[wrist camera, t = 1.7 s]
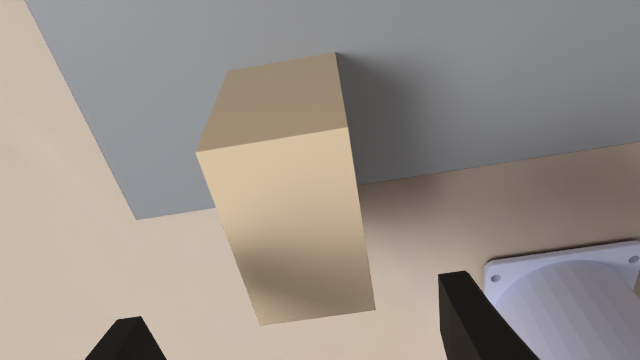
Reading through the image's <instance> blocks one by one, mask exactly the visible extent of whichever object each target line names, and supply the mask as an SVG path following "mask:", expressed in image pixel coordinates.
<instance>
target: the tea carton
mask: <svg viewBox="0 0 640 360" xmlns="http://www.w3.org/2000/svg"><path fill="white" fill-rule="evenodd" d="M195 153H196V156H197V158H198V161H199V164H200V166H201V169H202V172H203V174H204V177H205V180H206V182H207V185H208V188H209V190H210V193H211V196H212V198H213V201H214V204H215V206H216V209H217V212H218V214H219V217H220V220H221V222H222V225H223V228H224V230H225V233H226V236H227V238H228V241H229V244H230V246H231V249H232V252H233V254H234V257H235V260H236V262H237V265H238V268H239V270H240V273H241V276H242V278H243V281H244V284H245V286H246V289H247V292H248V294H249V297H250V300H251V302H252V305H253V308H254V310H255V313H256V316H257V318H258V321H259V324H260V326H262V325H269V324H276V323H284V322H291V321H298V320H306V319H313V318H321V317H328V316H335V315H343V314H350V313H357V312H365V311H372V310H376V308H375V302H374V295H373V289H372V282H371V275H370V269H369V262H368V256H367V249H366V243H365V236H364V230H363V223H362V217H361V210H360V203H359V197H358V190H357V184H356V177H355V171H354V164H353V158H352V151H351V144H350V138H349V131H348V125H347V119H346V113H345V108H344V102H343V96H342V90H341V84H340V78H339V73H338V67H337V61H336V55H335V52H331V53H325V54H320V55H314V56H309V57H303V58H297V59H292V60H286V61H280V62H275V63H269V64H263V65H258V66H252V67H246V68H241V69H235V70H230V71H228V72H227V74H226V77H225V79H224V82H223V84H222V87H221V89H220V92H219V94H218V97H217V99H216V102H215V104H214V107H213V109H212V112H211V114H210V117H209V119H208V122H207V124H206V127H205V129H204V132H203V134H202V137H201V139H200V142H199V144H198V147H197V149H196V152H195Z"/></svg>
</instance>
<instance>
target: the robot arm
mask: <svg viewBox="0 0 640 360" xmlns="http://www.w3.org/2000/svg"><path fill="white" fill-rule="evenodd" d="M639 271H640V241H638V240H634V241H626V242H619V243H612V244H605V245H598V246H591V247H584V248H577V249H570V250H563V251H555V252H548V253H541V254H534V255H527V256H520V257H513V258H506V259H499V260H493V261H490V262H488V263H487V264H486V265H485V268H484V287H483V292H482V291H481V289H480V288H479V287H478V285H477V284H476V282H475V281H474V280H473V278H472V277H471V275H470V274H469V273H468V272H466V271H459V272H452V273H444V274H438V284H439V312H440V332H441V336H442V340H443V344H444V348H445V352H446V356H447V360H640V299H639V298H638V297H637V295H636V294H635V293H634V292H633V290H634V287H635V284H636V280H637V277H638V274H639ZM494 275H496V276H494ZM85 360H167V359H166V358H165V356H164V354H163V353H162V351H161V349H160V348H159V346H158V344H157V342H156V341H155V339H154V337H153V336H152V334H151V332H150V331H149V329H148V327H147V325H146V324H145V322H144V320H143V319H142V317H141V316H139V317H132V318H125V319H118V320H116V322H115V323H114V324H113V325H112V326H111V328H110V329H109V330H108V331H107V332H106V334H105V335H104V336H103V337H102V339H101V340H100V341H99V342H98V344H97V345H96V346H95V347H94V349H93V350H92V351H91V352H90V354H89V355H88V356H87V357H86V359H85Z"/></svg>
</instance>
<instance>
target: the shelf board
mask: <svg viewBox="0 0 640 360" xmlns="http://www.w3.org/2000/svg"><path fill="white" fill-rule="evenodd" d="M25 2H26V4H27V6H28V8H29V10H30V12H31V14H32V16H33V18H34V20H35V22H36V24H37V26H38V28H39V30H40V32H41V34H42V36H43V38H44V40H45V42H46V44H47V46H48V47H49V49H50V51H51V53H52V55H53V57H54V59H55V61H56V63H57V65H58V67H59V69H60V71H61V73H62V75H63V77H64V79H65V81H66V83H67V85H68V87H69V89H70V91H71V93H72V95H73V97H74V99H75V101H76V103H77V105H78V107H79V109H80V111H81V112H82V114H83V116H84V118H85V120H86V122H87V124H88V126H89V128H90V130H91V132H92V134H93V136H94V138H95V140H96V142H97V144H98V146H99V148H100V150H101V152H102V154H103V156H104V158H105V160H106V162H107V164H108V166H109V168H110V170H111V172H112V174H113V176H114V178H115V179H116V181H117V183H118V185H119V187H120V189H121V191H122V193H123V195H124V197H125V199H126V201H127V203H128V205H129V207H130V209H131V211H132V213H133V215H134V217H135V219H136V220H140V219H146V218H152V217H159V216H165V215H172V214H178V213H185V212H191V211H197V210H204V209H210V208H216V206H215V204H214V201H213V198H212V196H211V193H210V190H209V188H208V185H207V182H206V180H205V177H204V174H203V172H202V169H201V166H200V164H199V161H198V158H197V156H196V153H195V152H196V149H197V147H198V144H199V142H200V139H201V137H202V134H203V132H204V129H205V127H206V124H207V122H208V119H209V117H210V114H211V112H212V109H213V107H214V104H215V102H216V99H217V97H218V94H219V92H220V89H221V87H222V84H223V82H224V79H225V77H226V74H227V72H228V71H230V70H235V69H241V68H246V67H252V66H258V65H263V64H269V63H275V62H280V61H286V60H292V59H297V58H303V57H309V56H314V55H320V54H325V53H331V52H335V55H336V61H337V67H338V73H339V78H340V84H341V90H342V96H343V102H344V108H345V113H346V119H347V125H348V131H349V138H350V144H351V151H352V158H353V164H354V171H355V177H356V184H357V186H358V185H364V184H371V183H377V182H384V181H390V180H396V179H403V178H409V177H416V176H422V175H429V174H435V173H441V172H448V171H454V170H461V169H467V168H474V167H480V166H486V165H493V164H499V163H506V162H512V161H518V160H525V159H531V158H538V157H544V156H551V155H557V154H563V153H570V152H576V151H583V150H589V149H596V148H602V147H608V146H615V145H621V144H628V143H634V142H640V0H25Z"/></svg>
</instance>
